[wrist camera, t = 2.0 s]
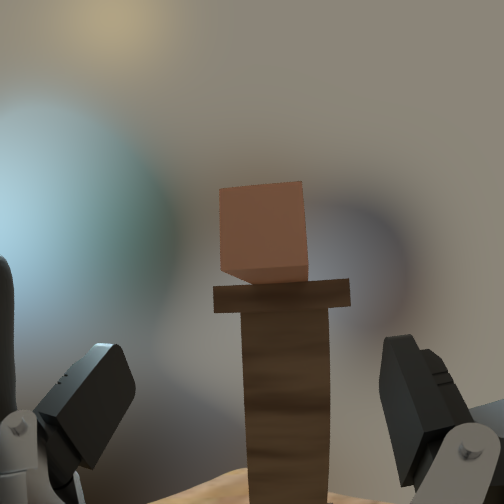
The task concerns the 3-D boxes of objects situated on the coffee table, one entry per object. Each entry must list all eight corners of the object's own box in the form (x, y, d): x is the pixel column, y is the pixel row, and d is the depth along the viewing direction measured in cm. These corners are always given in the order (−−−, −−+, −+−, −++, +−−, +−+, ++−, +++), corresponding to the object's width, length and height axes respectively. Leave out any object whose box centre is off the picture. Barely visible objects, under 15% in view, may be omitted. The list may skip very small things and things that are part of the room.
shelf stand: (336, 578, 17) (349, 278, 23) (234, 577, 19) (213, 286, 24) (332, 510, 31) (333, 289, 36) (256, 511, 33) (247, 294, 38)
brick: (308, 265, 14) (301, 181, 15) (220, 270, 15) (219, 188, 16) (307, 290, 36) (305, 254, 36) (271, 292, 36) (270, 257, 37)
